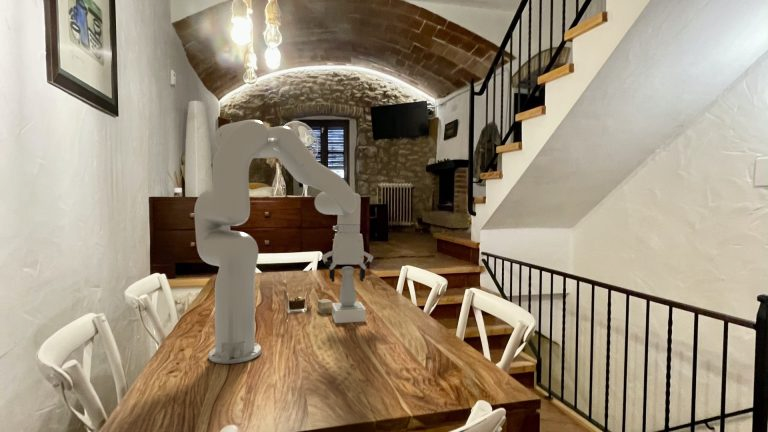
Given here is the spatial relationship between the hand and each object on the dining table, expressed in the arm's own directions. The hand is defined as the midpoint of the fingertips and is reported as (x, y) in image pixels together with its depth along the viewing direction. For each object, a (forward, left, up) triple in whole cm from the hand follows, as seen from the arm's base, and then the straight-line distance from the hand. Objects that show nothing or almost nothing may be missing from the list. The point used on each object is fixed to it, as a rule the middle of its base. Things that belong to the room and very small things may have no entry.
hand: (347, 280), depth 136 cm
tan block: (+9, +6, -13) cm, 17 cm away
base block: (0, -1, -13) cm, 13 cm away
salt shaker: (0, 0, -9) cm, 9 cm away
